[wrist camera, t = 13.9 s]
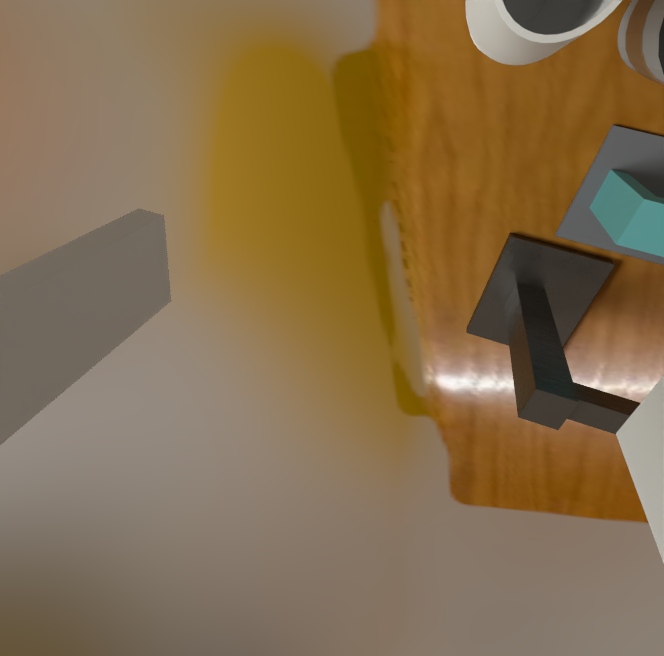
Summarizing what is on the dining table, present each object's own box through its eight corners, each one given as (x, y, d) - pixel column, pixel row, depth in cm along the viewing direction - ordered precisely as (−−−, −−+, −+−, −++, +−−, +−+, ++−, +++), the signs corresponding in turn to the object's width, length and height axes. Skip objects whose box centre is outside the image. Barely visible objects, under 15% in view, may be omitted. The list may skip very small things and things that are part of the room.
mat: (612, 124, 36) (614, 125, 35) (738, 154, 34) (741, 155, 34) (555, 234, 41) (555, 236, 41) (661, 263, 40) (663, 264, 40)
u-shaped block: (589, 207, 39) (615, 244, 32) (610, 169, 37) (644, 199, 30) (668, 228, 38) (714, 270, 31) (694, 190, 36) (750, 225, 29)
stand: (510, 232, 43) (529, 330, 28) (682, 279, 41) (800, 410, 26) (466, 328, 50) (464, 445, 35) (611, 371, 48) (673, 515, 33)
